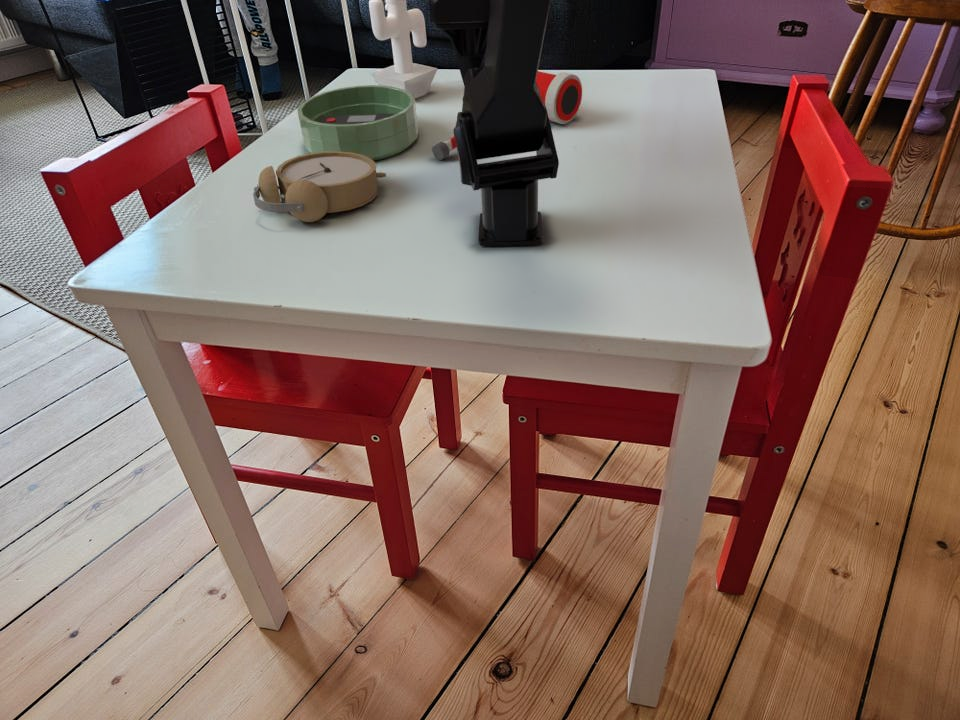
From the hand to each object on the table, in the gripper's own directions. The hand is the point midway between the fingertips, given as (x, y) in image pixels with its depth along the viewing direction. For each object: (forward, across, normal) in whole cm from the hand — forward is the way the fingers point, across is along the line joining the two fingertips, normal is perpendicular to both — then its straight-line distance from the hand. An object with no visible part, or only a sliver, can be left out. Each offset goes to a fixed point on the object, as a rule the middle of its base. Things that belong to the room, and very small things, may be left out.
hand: (471, 72), depth 77 cm
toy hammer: (+12, -15, +4) cm, 20 cm away
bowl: (+12, -12, -16) cm, 23 cm away
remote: (+11, -12, -16) cm, 23 cm away
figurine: (+12, -30, -12) cm, 35 cm away
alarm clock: (+12, +6, -18) cm, 23 cm away
